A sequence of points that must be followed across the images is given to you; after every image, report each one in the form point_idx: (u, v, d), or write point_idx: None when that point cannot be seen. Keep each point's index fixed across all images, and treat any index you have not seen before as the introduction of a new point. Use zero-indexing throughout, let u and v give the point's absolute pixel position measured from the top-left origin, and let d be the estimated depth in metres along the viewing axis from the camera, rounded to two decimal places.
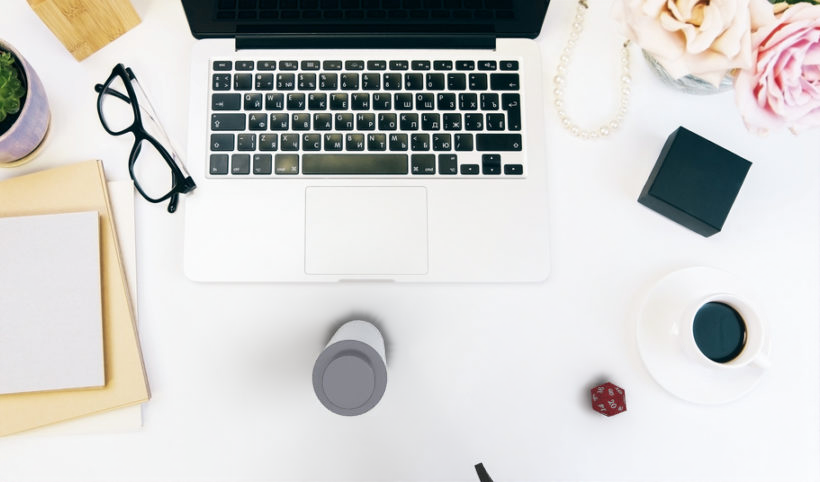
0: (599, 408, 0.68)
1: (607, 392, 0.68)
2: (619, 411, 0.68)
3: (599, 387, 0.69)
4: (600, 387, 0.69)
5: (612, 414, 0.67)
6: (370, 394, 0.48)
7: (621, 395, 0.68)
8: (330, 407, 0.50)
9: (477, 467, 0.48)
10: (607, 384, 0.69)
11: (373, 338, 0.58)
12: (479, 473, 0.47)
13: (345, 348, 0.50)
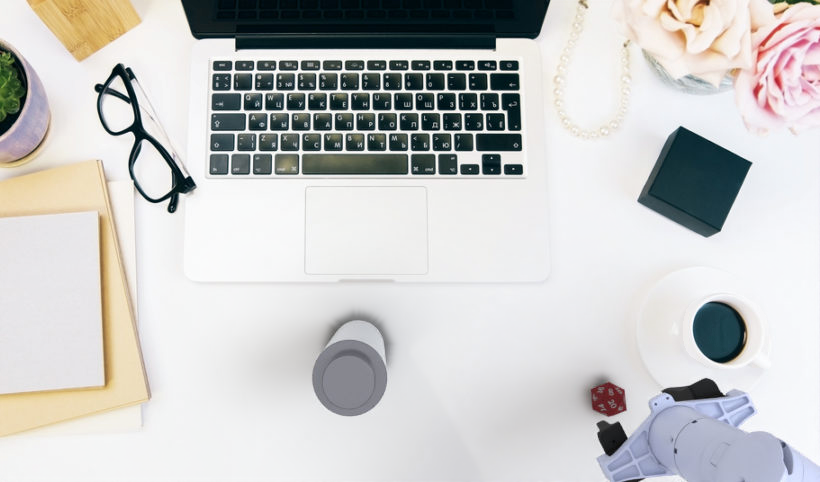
0: (599, 408, 0.68)
1: (607, 392, 0.68)
2: (619, 411, 0.68)
3: (599, 387, 0.69)
4: (600, 387, 0.69)
5: (612, 414, 0.67)
6: (370, 394, 0.48)
7: (621, 395, 0.68)
8: (330, 407, 0.50)
9: None
10: (607, 384, 0.69)
11: (373, 338, 0.58)
12: (664, 392, 0.62)
13: (345, 348, 0.50)
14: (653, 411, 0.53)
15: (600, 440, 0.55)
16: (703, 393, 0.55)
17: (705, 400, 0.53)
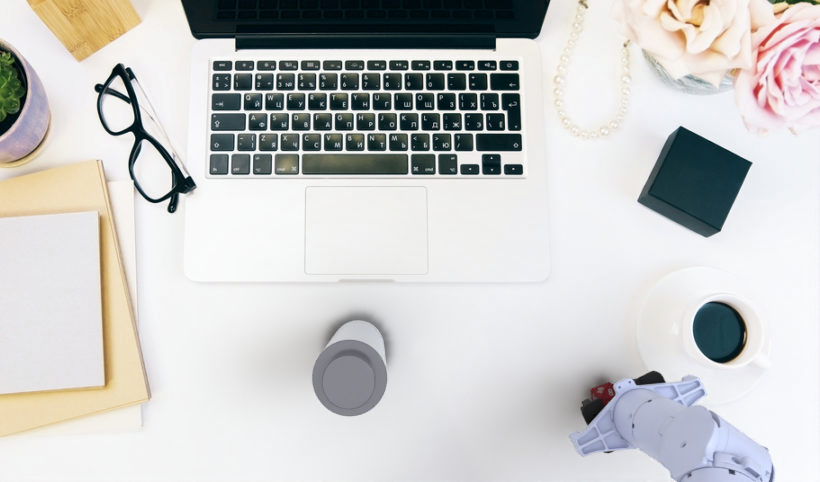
0: None
1: (607, 392, 0.68)
2: None
3: (599, 387, 0.69)
4: (600, 387, 0.69)
5: None
6: (370, 394, 0.48)
7: None
8: (330, 407, 0.50)
9: None
10: (607, 384, 0.69)
11: (373, 338, 0.58)
12: None
13: (345, 348, 0.50)
14: (617, 393, 0.61)
15: (583, 414, 0.63)
16: (651, 384, 0.63)
17: (662, 383, 0.61)
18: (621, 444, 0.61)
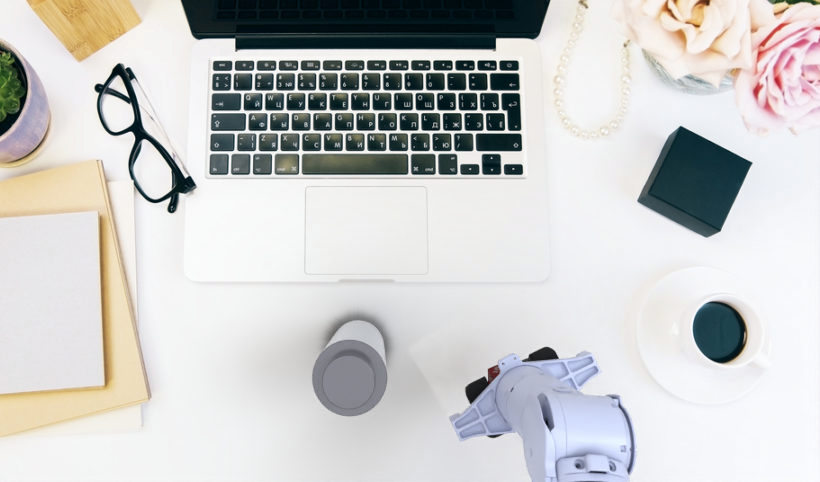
0: None
1: None
2: None
3: (496, 367, 0.63)
4: (497, 367, 0.63)
5: None
6: (370, 394, 0.48)
7: None
8: (330, 407, 0.50)
9: None
10: None
11: (373, 338, 0.58)
12: None
13: (345, 348, 0.50)
14: (501, 370, 0.54)
15: (466, 394, 0.56)
16: None
17: (551, 360, 0.55)
18: (504, 427, 0.54)
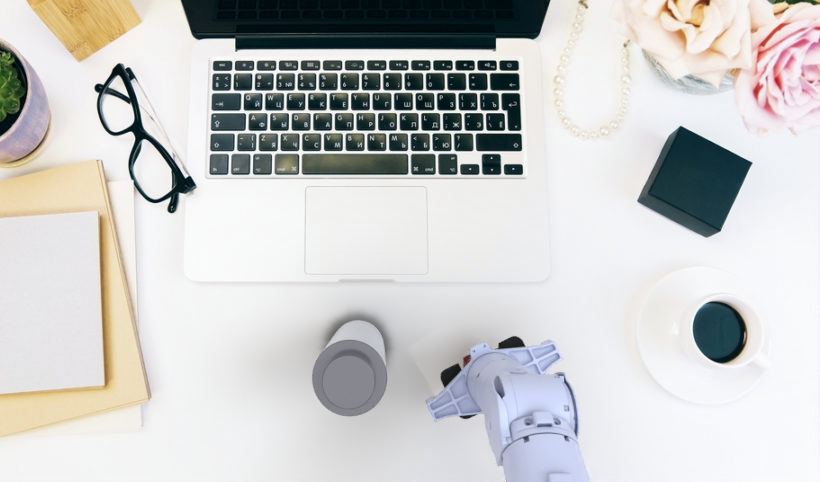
0: None
1: None
2: None
3: None
4: None
5: None
6: (370, 394, 0.48)
7: None
8: (330, 407, 0.50)
9: None
10: None
11: (373, 338, 0.58)
12: None
13: (345, 348, 0.50)
14: (472, 357, 0.60)
15: (441, 379, 0.62)
16: None
17: (517, 348, 0.60)
18: (475, 409, 0.60)
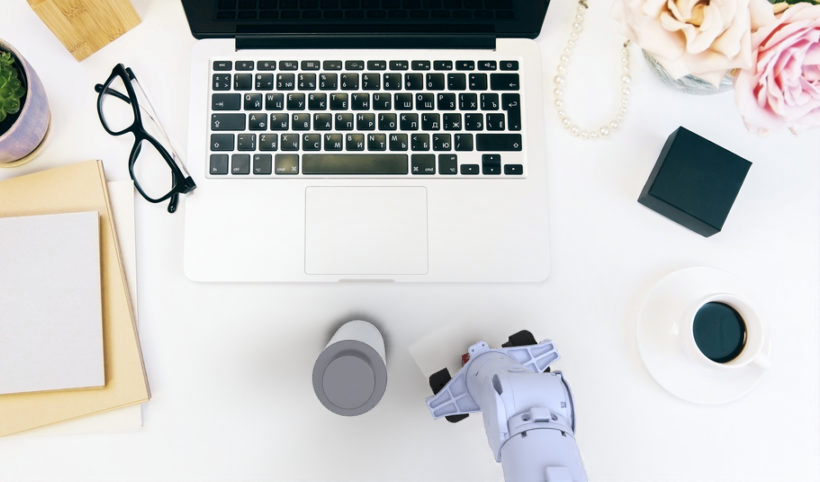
0: None
1: None
2: None
3: (468, 353, 0.70)
4: None
5: None
6: (370, 394, 0.48)
7: None
8: (330, 407, 0.50)
9: None
10: None
11: (373, 338, 0.58)
12: None
13: (345, 348, 0.50)
14: (471, 356, 0.61)
15: (429, 383, 0.63)
16: (521, 343, 0.63)
17: (516, 347, 0.61)
18: (474, 407, 0.60)
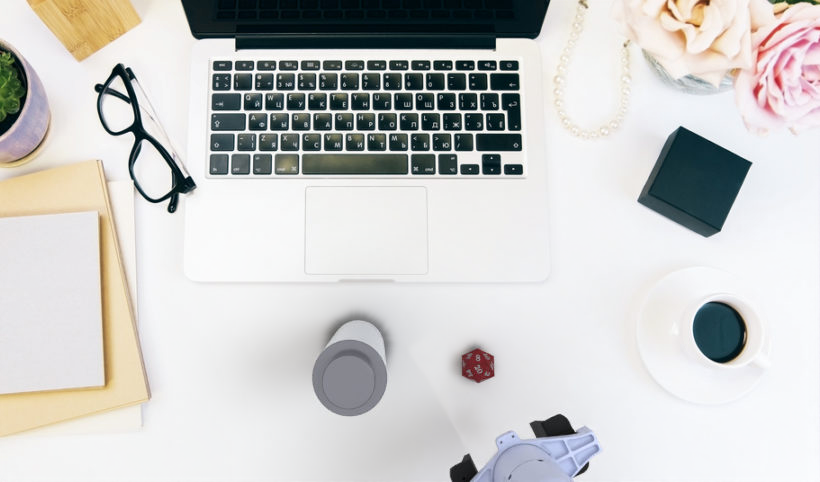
0: (467, 374, 0.69)
1: (474, 358, 0.68)
2: (486, 377, 0.68)
3: (468, 353, 0.70)
4: (469, 353, 0.69)
5: (478, 379, 0.68)
6: (370, 394, 0.48)
7: (488, 361, 0.68)
8: (330, 407, 0.50)
9: None
10: (475, 350, 0.69)
11: (373, 338, 0.58)
12: None
13: (345, 348, 0.50)
14: (499, 449, 0.53)
15: (450, 477, 0.55)
16: (555, 430, 0.55)
17: (551, 438, 0.53)
18: None
